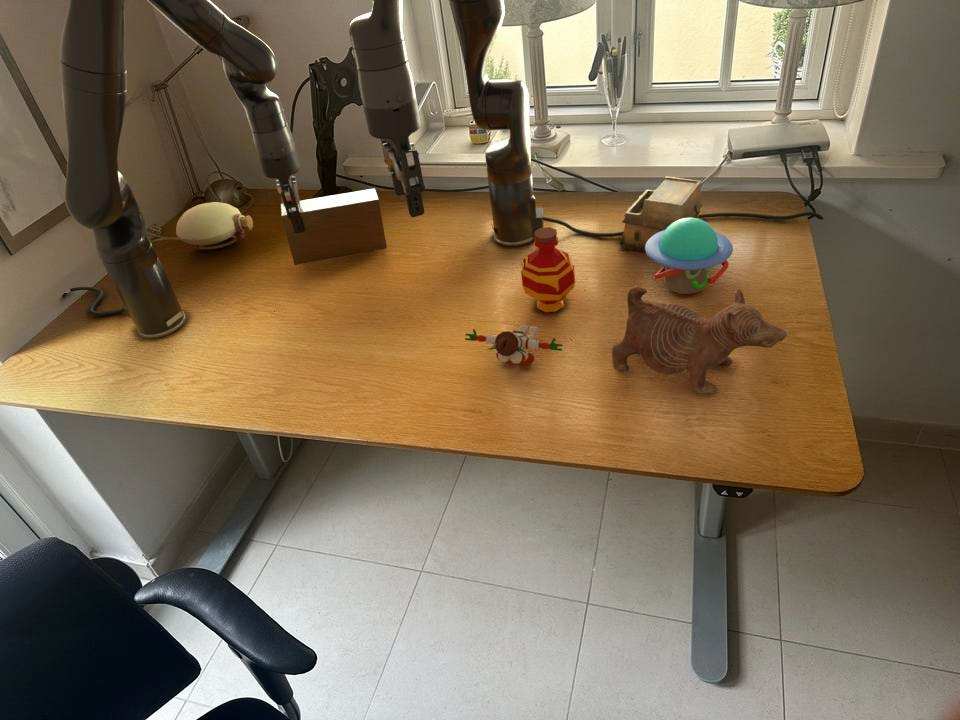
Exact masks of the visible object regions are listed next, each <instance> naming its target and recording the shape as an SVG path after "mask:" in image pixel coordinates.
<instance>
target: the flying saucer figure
mask: <svg viewBox="0 0 960 720" xmlns="http://www.w3.org/2000/svg"><path fill="white" fill-rule="evenodd" d="M645 251H646V252H645V253H646V255H647V256H648V258H650V260H651V261H653V262H654V263H656V264H657V265H660V266H662V267H661V268H660V269H659V270H658V271H657V272H656V273H655V274H654V279H653V280H654V281H657V280H660V279H663V282H664V286H665V287H666V288H667V289H668V290H670V291H672V292H675V293H678V294H680V295H690V294H695V293H698V292H701V291H702V290H704V289H705V288H706V287H707V285H708V284H709V285H714V284H716V282H717V281H718V280H719V278H720V277H721V276H722V275H723V274H724V273H725V272H726V271H727V270H728V268H729V263H730V262H729V261H728V259H730V258H731V256H732V254H733V252H734V247H733V244H732V242H731V240H729V238H727V237H726V236H725V235H724V234H722V233H720V232H718V231H716V230H714V228H713V227H712V226H711V225H710V224H709V223H708V222H707V221H704V220H703V219H702V218H698V219H697V218H683V219H679V220H677V221H675V222H673V223H672V224H671V225H670V226H669V227H667V229H666V230H663V231H661V232H658V233H656V234H655V235H653V236H652V237H651V238H650V239H649V240H648V241H647V243H646V245H645ZM719 265H721V266H722V267H720V269H719V270H718V271H717V272H716V273H715V274H714V275H713V276H709V271H711V270H712V269H714V268H715V267H717V266H719Z"/></svg>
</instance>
